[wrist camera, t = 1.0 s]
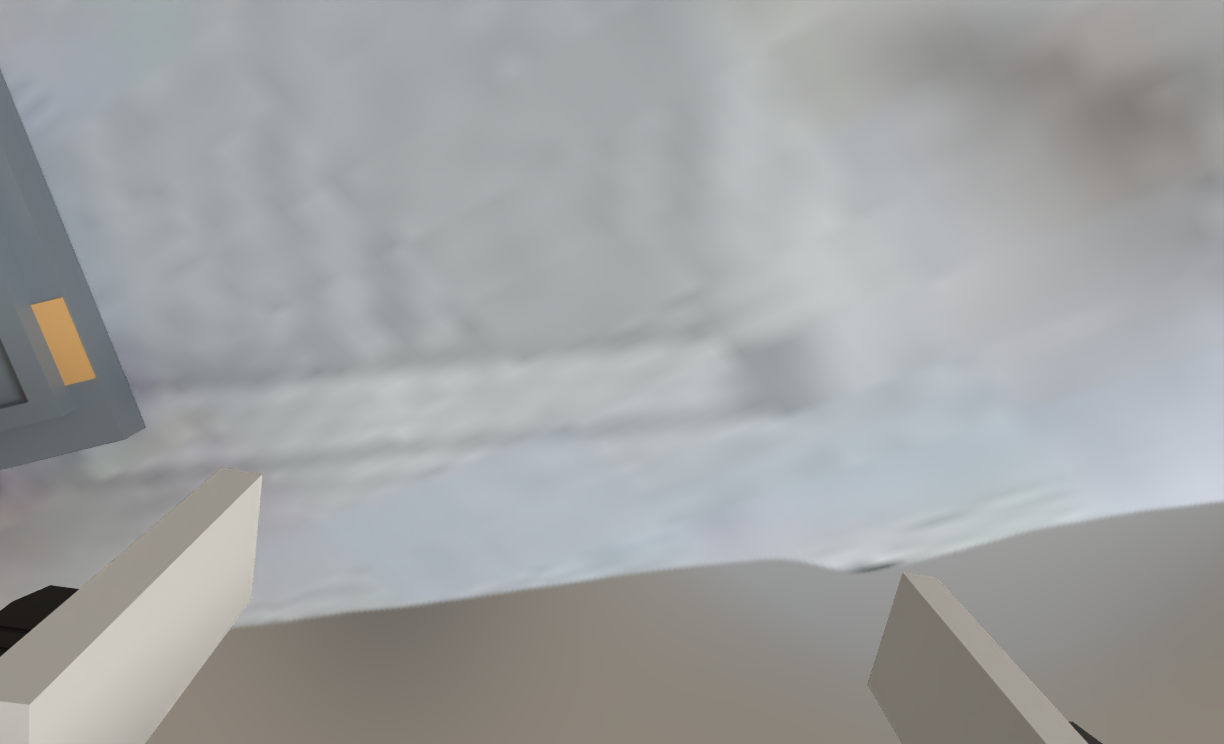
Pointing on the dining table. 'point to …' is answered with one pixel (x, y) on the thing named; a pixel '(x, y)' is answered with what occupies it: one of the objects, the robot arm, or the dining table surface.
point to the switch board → (49, 323)
